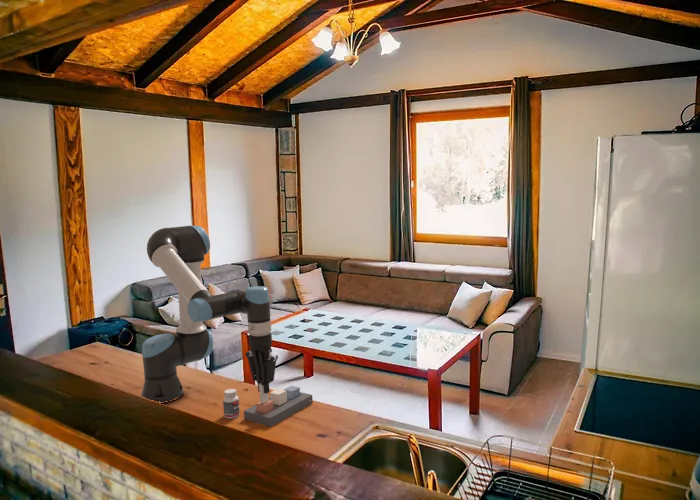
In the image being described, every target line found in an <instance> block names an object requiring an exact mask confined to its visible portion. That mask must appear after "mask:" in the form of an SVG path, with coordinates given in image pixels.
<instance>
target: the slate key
mask: <svg viewBox="0 0 700 500" xmlns="http://www.w3.org/2000/svg"><path fill="white" fill-rule="evenodd" d="M300 389H301V388H300V387H299V386H295V385H290V386H287V387H285V388H284V389H283V390H286V391H287V398H289V399H295V398H297V397H298V396H300V392H301V390H300Z"/></svg>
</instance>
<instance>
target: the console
mask: <svg viewBox="0 0 700 500" xmlns="http://www.w3.org/2000/svg"><path fill="white" fill-rule="evenodd" d="M269 400H270V401H271V398H270V397H269ZM310 400H311V401H310ZM313 403H314V402H313V395H312V394H310V393H305V392H302V391H300V396H298V397H297V398H295V399H289V398H287V402H286V403H284V404H282V405H280V406H278V405H274V404H273V409H274V410H272V411H270V412H269V413H267V414H263V413H259V412H257V410H256V404H254V405H253V406H250V407H248V408H247V409H245V410H243V418H244V420H246V421H248V422H252V423H255V424H259V425H262V426H265V427H269V428H271V427H274V426H275V425H277V424H279V423H280V422H282V421H284V420H285V419H287V418H289V417H291V416H292V415H294V414H296V413H298V412H300V411H301V410H303V409H305V408H306V407H309V406H310V405H311V404H313Z"/></svg>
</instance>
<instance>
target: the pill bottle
mask: <svg viewBox="0 0 700 500" xmlns="http://www.w3.org/2000/svg"><path fill="white" fill-rule="evenodd" d="M239 399H240V398H239V396H238V395H237V390H236V389H235V388H228V389H225V390H224V397H223V399H222V405H223V416H224V418H225V419H228V420H230V419H236V418H238V417H240V400H239Z"/></svg>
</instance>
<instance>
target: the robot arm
mask: <svg viewBox="0 0 700 500" xmlns="http://www.w3.org/2000/svg"><path fill="white" fill-rule="evenodd" d="M210 251H211V241H210V237H209V235H208V233H207V232H206V229H204V228H203V227H202V226H200V225H183V226H174V227H163V228H160V229H157V230H155V232H153V233H152V234H151V235H150V237H149V238H148V241H147V243H146V253H147V257H148V259H149V260H150V261H151V263H152V264H153V265H154V267H156V268H160V270H161V271H162V272H163V273H164V275H165V276H166V277H167V278H168V280H169V281H170V282H171V283H172V284H173V286H174V287H175V289H177V290H178V307H179V310H178V312H179V326H177V327H176V329H175V331H176V332H175V335H173V333H169V332H168V333H163V334H161V333H160V334H156V335H154V336H153V335H152V336H150V337H149V338H147V339H145V341H144V342H143V343H142V345H141V351H142V352H141V357H142V364H143V365H142V366H143V375H144V381H143V382H144V383H143V387H142V390H141V391H142V392H141V394H140V396H142V397H145V398H147V399H150V400H154V401H157V402H159V401H160V402H165V401H170V400H173V399H175V398H177V397H179V396H181V395H182V394H183V395H184V386H183V384H182V383H181V381H180V380H181V379H179V377H178V369H177V367H178V366H179V367H180V366H182V365H185V364H189V363H194V362H198V361H201V360H203V359H206V358H208V357H210V355H211V354H212V352H213V349H214V337H213V334H212V332H211V330H209V329H207V325H205V324H204V322H208V321H210V320H214V319H218V318H223V317H227V316H232V315H235V314H246V316H247V328H248V331H247V332H248V334H249V335H248V344H249V346H250V350H249V351H246V352H245V353H244V354H245V356H246V358H247V361H248V365H249V368H250V369H249V370H250V373H251V378H252V381H255V382H256V383H257V389H258V390H257V391H258V393H259V401H260V403H265V402H267V401H269V398H270V396H269V393H270V383H273V382H274V381H275V372H276V366H277V361H278V359H279V355H278V354H274V353H273V350H272V343H273V337H272V336H273V334H272V333H271V332H272V323H271V305H270V304H271V303H270V302H271V301H270V300H271V298H270V295H269V288H268V287H267V286H262V285H261V286H260V285H257V286H256V285H255V286H250V287H249V286H248V287H247V288H246V289H245V290H243V289H230V290H228V291H227V292H224V293H220V294H216V295H215V294H214V295H213V294H212V293H211V292H210V291H209V290H208V288H207V287H206V286H205V284H203V282H202V271H201V270H202V269H201V265H202V264H203V262H205V256H206V255H208V254H209V252H210Z"/></svg>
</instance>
